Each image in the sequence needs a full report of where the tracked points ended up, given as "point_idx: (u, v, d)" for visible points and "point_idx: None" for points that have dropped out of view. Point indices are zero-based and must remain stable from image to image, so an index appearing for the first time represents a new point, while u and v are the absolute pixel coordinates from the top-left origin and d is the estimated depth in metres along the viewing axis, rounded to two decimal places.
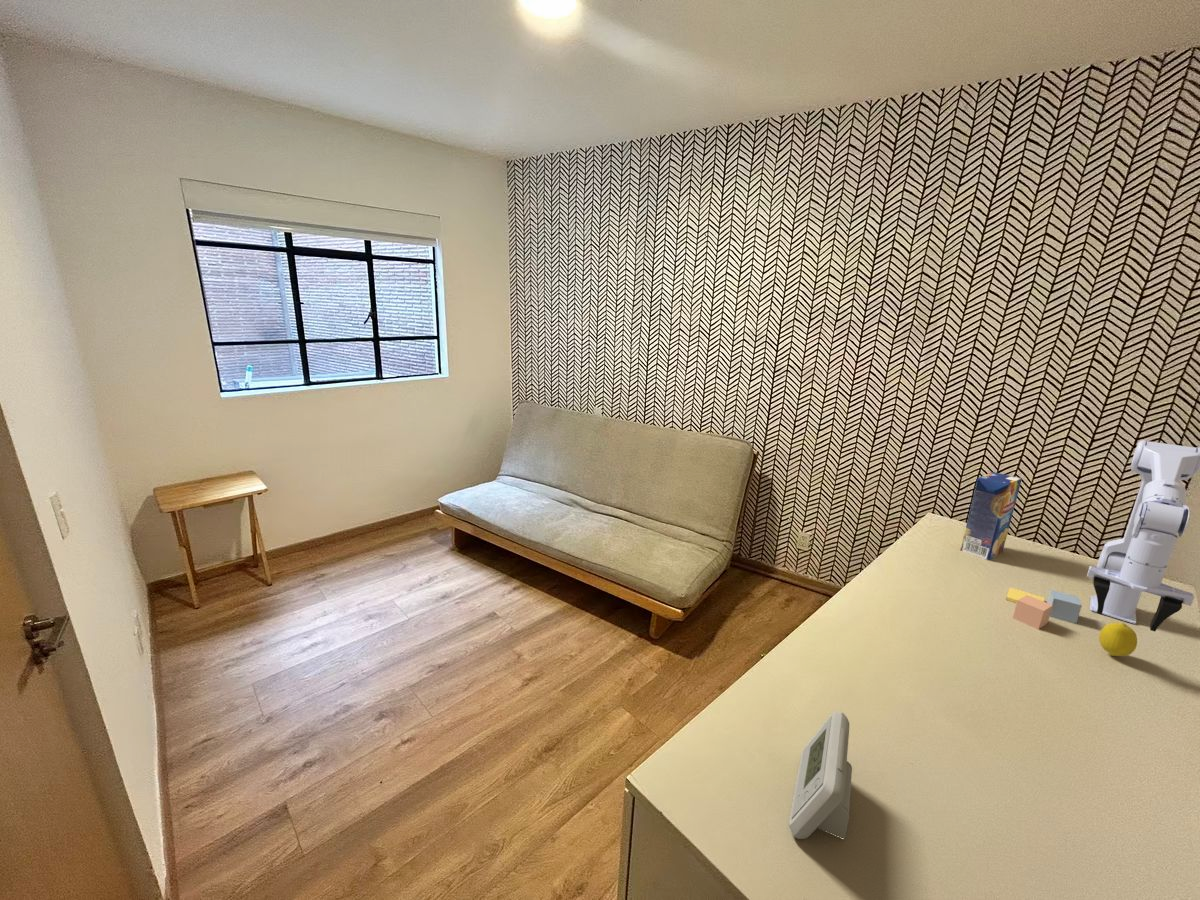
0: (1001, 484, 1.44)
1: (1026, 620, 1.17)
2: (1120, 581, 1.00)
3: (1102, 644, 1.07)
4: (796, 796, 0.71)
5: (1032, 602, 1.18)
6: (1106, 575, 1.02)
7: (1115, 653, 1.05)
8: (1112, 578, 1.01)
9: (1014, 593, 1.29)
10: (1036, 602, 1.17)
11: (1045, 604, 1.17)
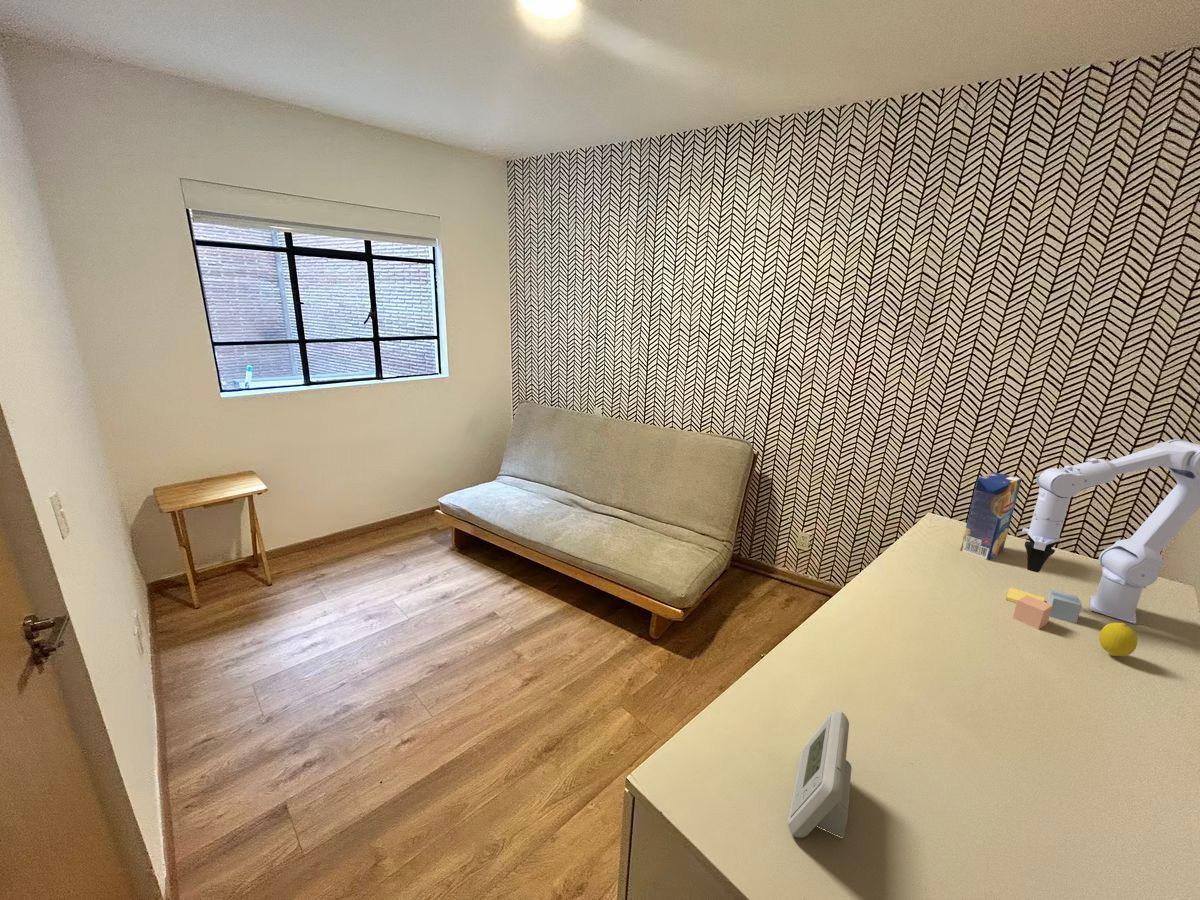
0: (1001, 484, 1.44)
1: (1026, 620, 1.17)
2: None
3: (1102, 644, 1.07)
4: (795, 795, 0.71)
5: (1032, 602, 1.18)
6: None
7: (1115, 653, 1.05)
8: None
9: (1014, 593, 1.29)
10: (1036, 602, 1.17)
11: (1045, 604, 1.17)
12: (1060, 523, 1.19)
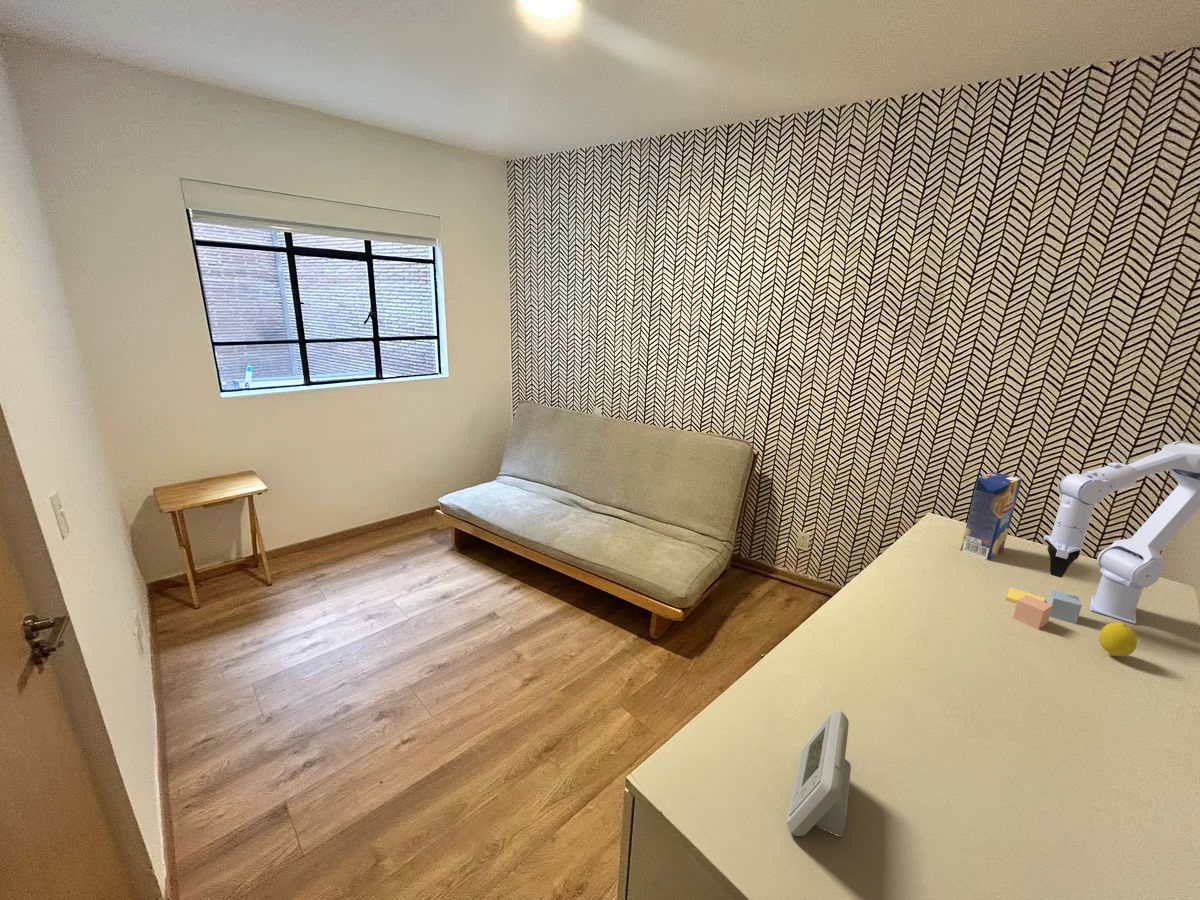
0: (1001, 484, 1.44)
1: (1026, 620, 1.17)
2: None
3: (1102, 644, 1.07)
4: (794, 794, 0.71)
5: (1032, 602, 1.18)
6: None
7: (1115, 653, 1.05)
8: None
9: (1014, 593, 1.29)
10: (1036, 602, 1.17)
11: (1045, 604, 1.17)
12: (1083, 530, 1.15)
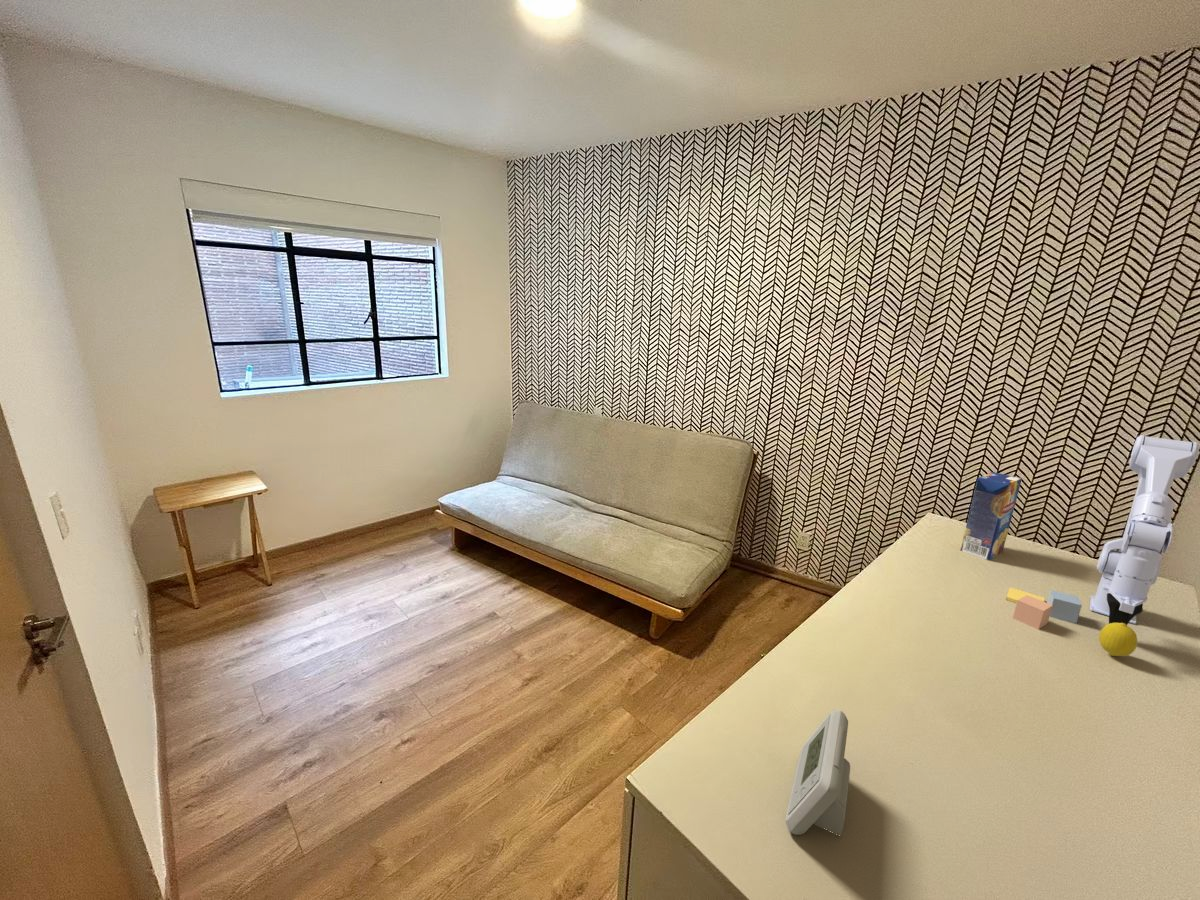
0: (1001, 484, 1.44)
1: (1026, 620, 1.17)
2: None
3: (1102, 644, 1.07)
4: (793, 792, 0.71)
5: (1032, 602, 1.18)
6: None
7: (1115, 653, 1.05)
8: None
9: (1014, 593, 1.29)
10: (1036, 602, 1.17)
11: (1045, 604, 1.17)
12: (1149, 582, 1.06)
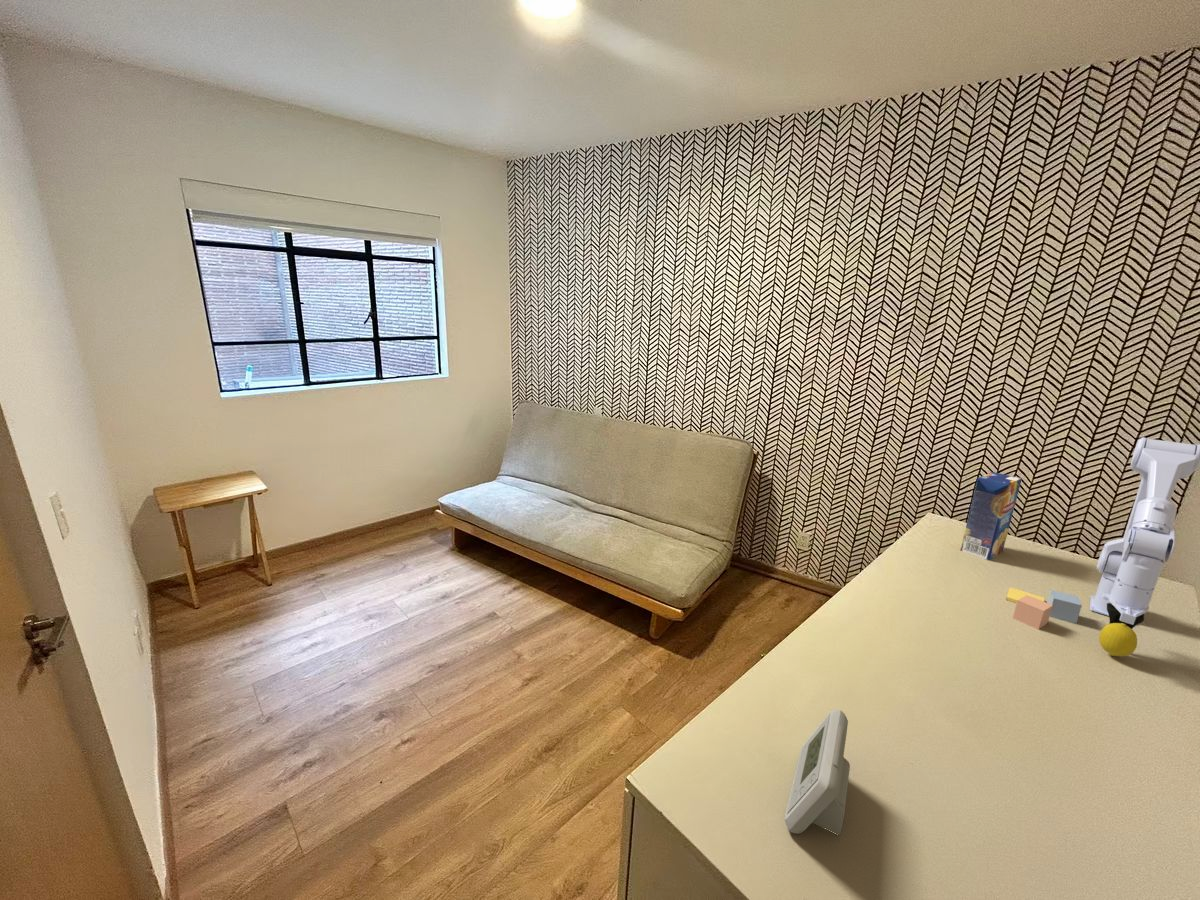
0: (1001, 484, 1.44)
1: (1026, 620, 1.17)
2: None
3: (1102, 644, 1.06)
4: (793, 791, 0.71)
5: (1032, 602, 1.18)
6: None
7: (1115, 653, 1.05)
8: None
9: (1014, 593, 1.29)
10: (1036, 602, 1.17)
11: (1045, 604, 1.17)
12: (1150, 592, 1.02)
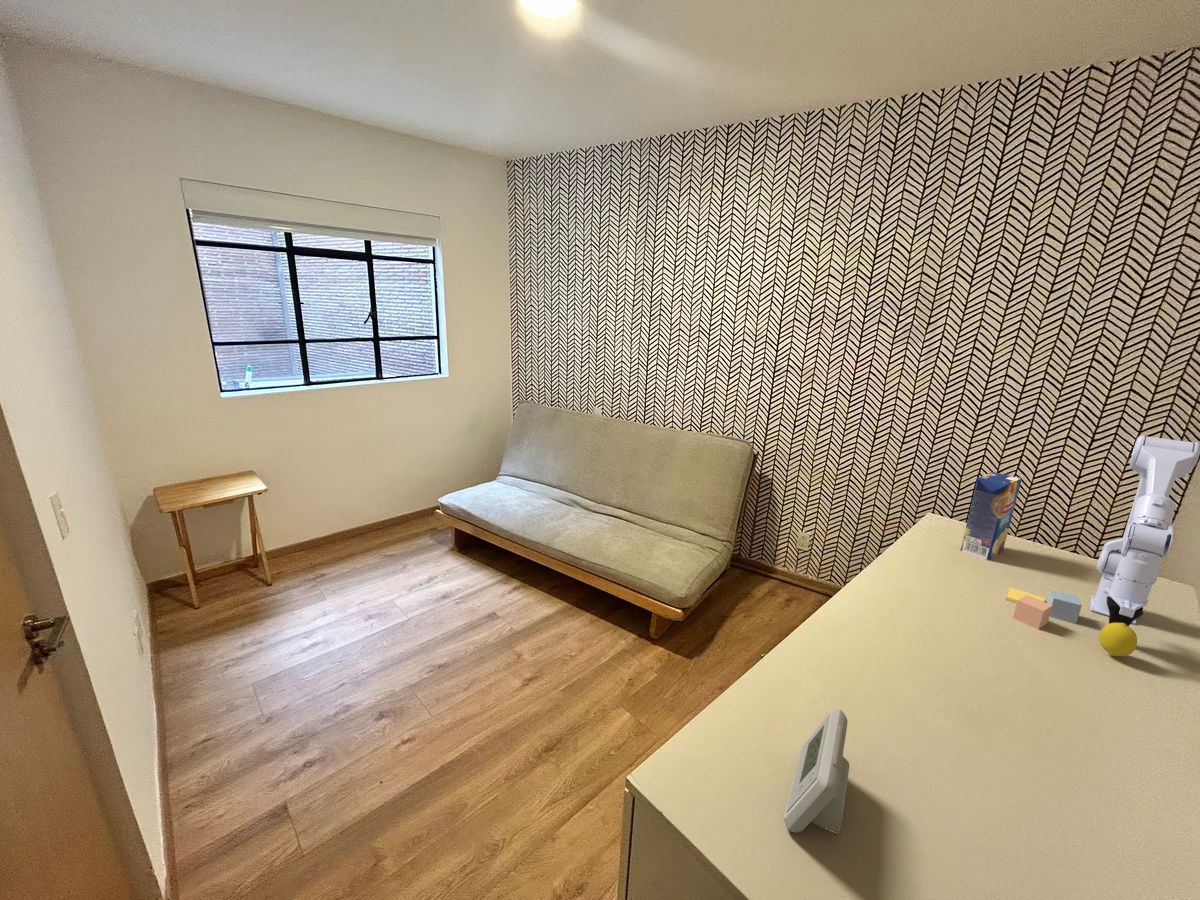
0: (1001, 484, 1.44)
1: (1026, 620, 1.17)
2: None
3: (1102, 644, 1.07)
4: (792, 791, 0.71)
5: (1032, 602, 1.18)
6: None
7: (1115, 653, 1.05)
8: None
9: (1014, 593, 1.29)
10: (1036, 602, 1.17)
11: (1045, 604, 1.17)
12: (1149, 585, 1.05)
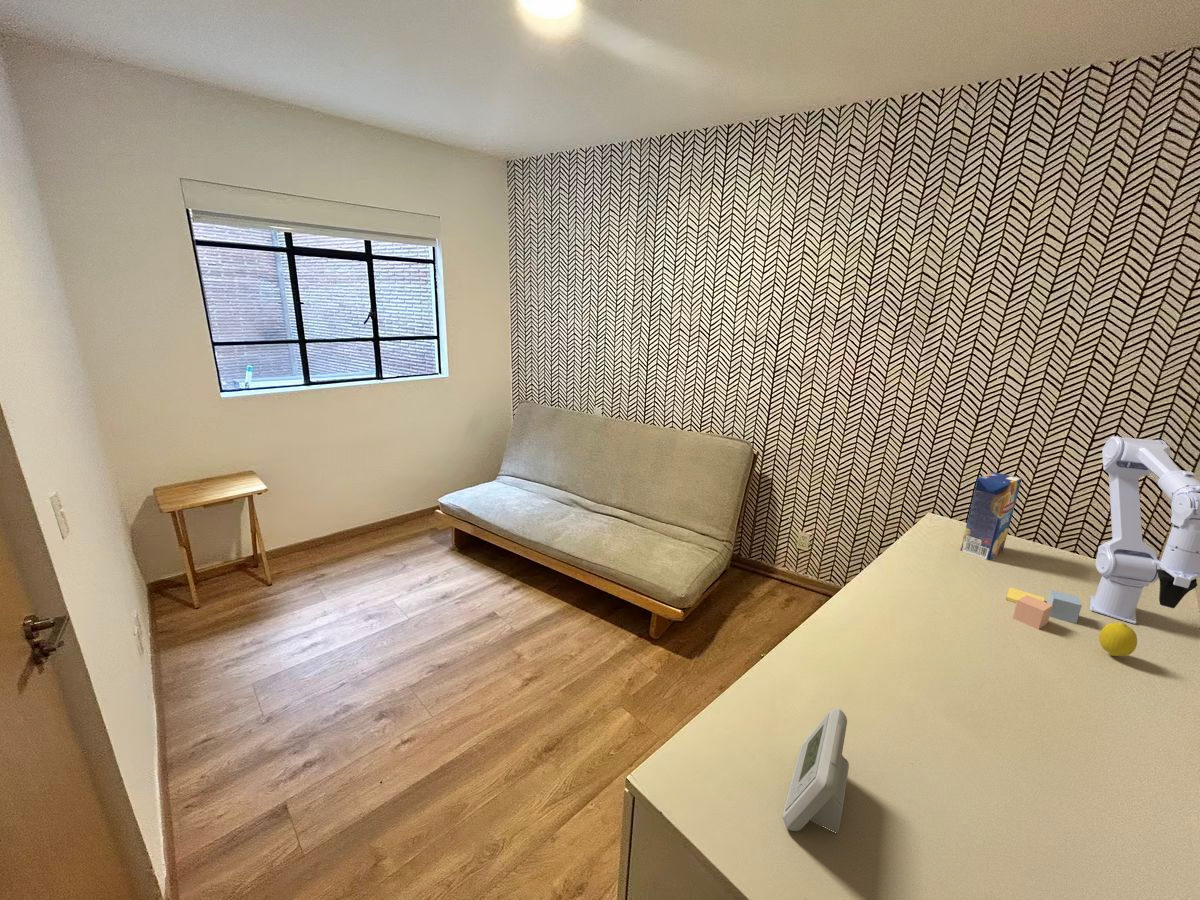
0: (1001, 484, 1.44)
1: (1026, 620, 1.17)
2: None
3: (1102, 644, 1.07)
4: (791, 789, 0.72)
5: (1032, 602, 1.18)
6: None
7: (1115, 653, 1.05)
8: None
9: (1014, 593, 1.29)
10: (1036, 602, 1.17)
11: (1045, 604, 1.17)
12: None
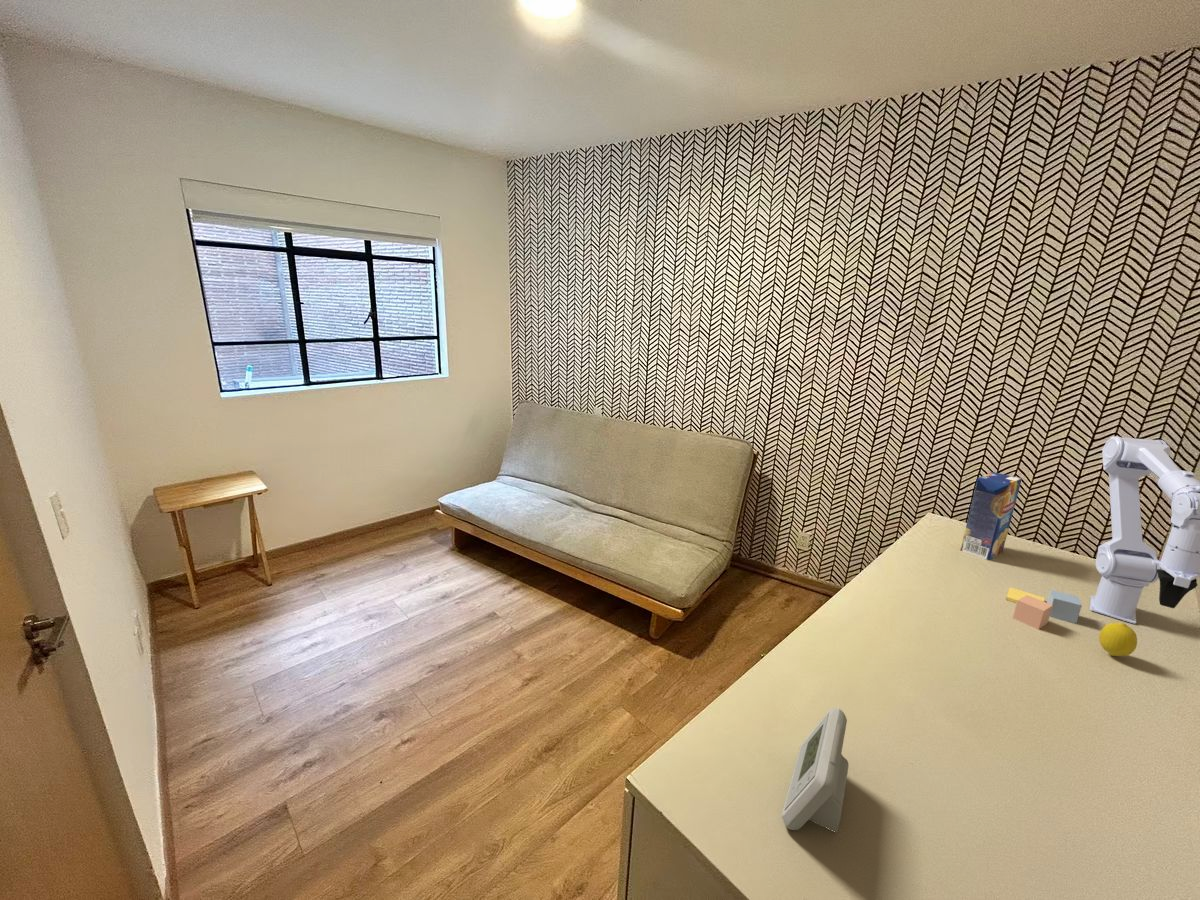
0: (1001, 484, 1.44)
1: (1026, 620, 1.17)
2: None
3: (1102, 644, 1.07)
4: (791, 789, 0.72)
5: (1032, 602, 1.18)
6: None
7: (1115, 653, 1.05)
8: None
9: (1014, 593, 1.29)
10: (1036, 602, 1.17)
11: (1045, 604, 1.17)
12: None
